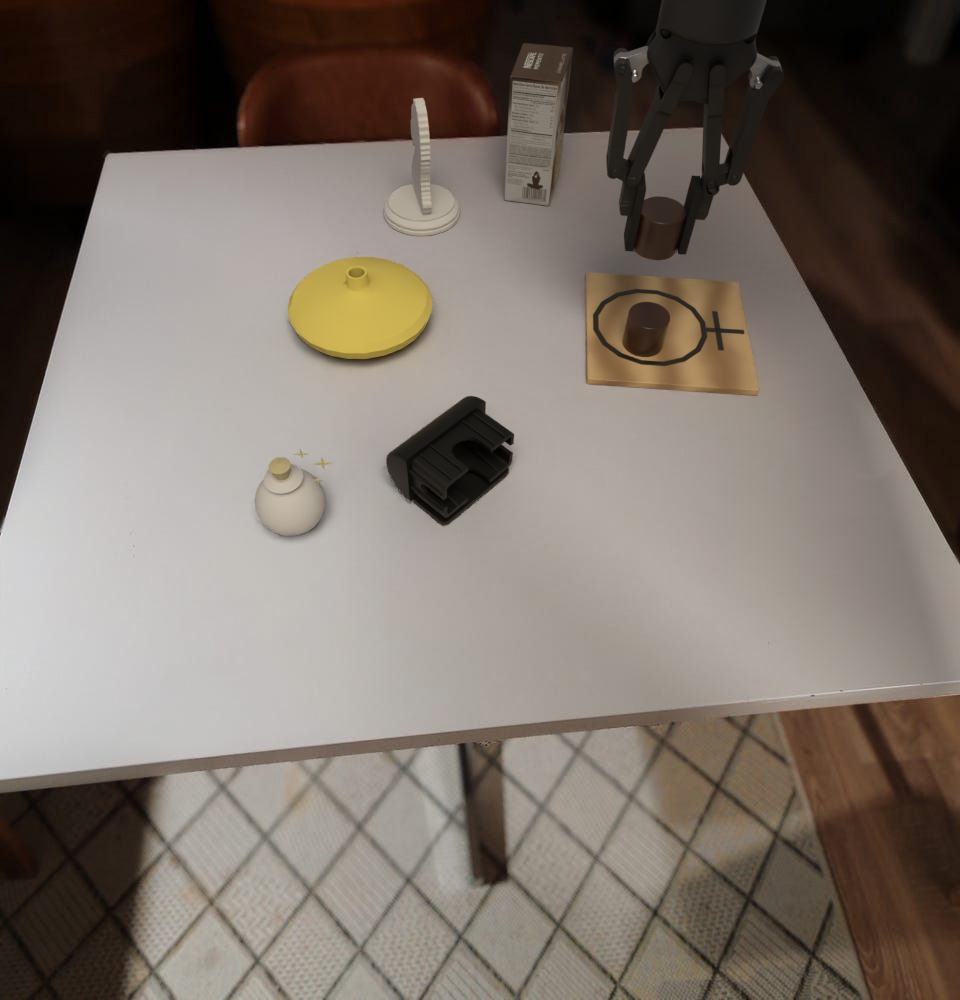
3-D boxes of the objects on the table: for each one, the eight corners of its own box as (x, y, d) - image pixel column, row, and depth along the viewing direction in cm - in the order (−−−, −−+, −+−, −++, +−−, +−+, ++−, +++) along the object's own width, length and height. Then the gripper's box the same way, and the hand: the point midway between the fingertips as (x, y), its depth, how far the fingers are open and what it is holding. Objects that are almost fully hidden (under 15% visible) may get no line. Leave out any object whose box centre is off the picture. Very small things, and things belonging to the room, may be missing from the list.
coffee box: (514, 164, 107) (522, 40, 94) (560, 170, 106) (574, 46, 93) (502, 201, 101) (509, 74, 88) (550, 207, 101) (564, 81, 88)
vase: (461, 316, 87) (461, 264, 82) (370, 395, 80) (363, 344, 74) (357, 263, 93) (350, 211, 87) (262, 333, 85) (248, 281, 79)
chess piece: (451, 188, 103) (450, 71, 91) (467, 231, 97) (468, 112, 85) (378, 196, 101) (367, 78, 89) (390, 240, 96) (380, 121, 84)
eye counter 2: (661, 331, 85) (669, 302, 82) (663, 358, 83) (672, 330, 80) (621, 328, 86) (627, 300, 82) (622, 356, 83) (629, 327, 80)
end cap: (461, 431, 77) (461, 383, 72) (514, 470, 74) (518, 422, 69) (388, 488, 73) (382, 441, 67) (440, 531, 70) (439, 486, 64)
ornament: (265, 496, 72) (240, 424, 64) (345, 491, 72) (331, 419, 64) (260, 551, 68) (233, 482, 60) (344, 545, 69) (329, 476, 61)
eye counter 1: (674, 234, 76) (684, 197, 73) (678, 262, 73) (688, 225, 70) (629, 231, 76) (637, 194, 73) (632, 259, 73) (640, 222, 70)
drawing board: (736, 287, 92) (738, 280, 91) (757, 395, 81) (760, 389, 80) (585, 277, 92) (586, 271, 91) (586, 384, 81) (587, 378, 81)
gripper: (832, -47, 57) (739, 226, 76) (599, -60, 58) (564, 216, 77) (854, -6, 53) (750, 274, 72) (602, -19, 53) (564, 263, 72)
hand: (654, 244), depth 74 cm, fingers closed on eye counter 1, 4 cm apart
